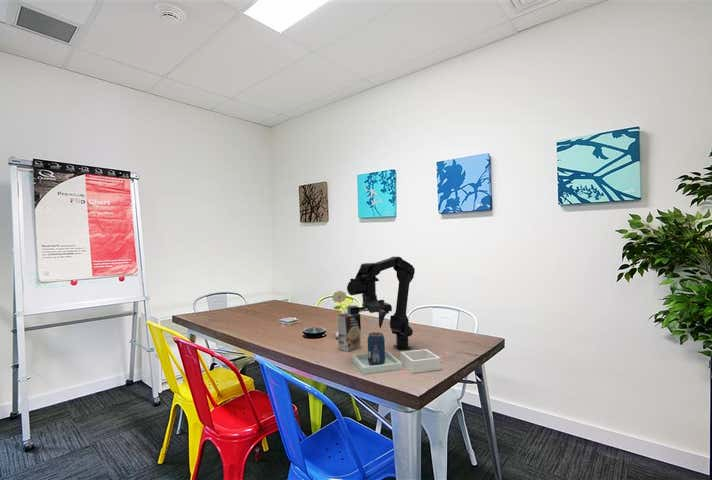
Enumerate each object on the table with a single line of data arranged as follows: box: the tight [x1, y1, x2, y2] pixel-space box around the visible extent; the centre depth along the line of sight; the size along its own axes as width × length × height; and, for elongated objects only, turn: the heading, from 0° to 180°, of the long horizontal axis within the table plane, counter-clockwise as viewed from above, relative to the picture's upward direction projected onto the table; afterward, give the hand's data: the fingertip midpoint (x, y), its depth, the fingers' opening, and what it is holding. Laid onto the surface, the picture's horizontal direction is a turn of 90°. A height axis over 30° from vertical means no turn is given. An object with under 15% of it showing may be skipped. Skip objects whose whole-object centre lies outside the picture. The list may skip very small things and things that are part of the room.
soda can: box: [367, 331, 386, 366], centre depth 139 cm, size 7×7×12 cm
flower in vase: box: [331, 290, 351, 338], centre depth 181 cm, size 13×11×25 cm
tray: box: [352, 350, 403, 375], centre depth 139 cm, size 16×16×2 cm
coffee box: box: [337, 313, 362, 352], centre depth 162 cm, size 9×6×16 cm
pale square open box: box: [399, 348, 442, 374], centre depth 136 cm, size 12×12×4 cm
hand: (370, 328), depth 147 cm, fingers open, 9 cm apart
